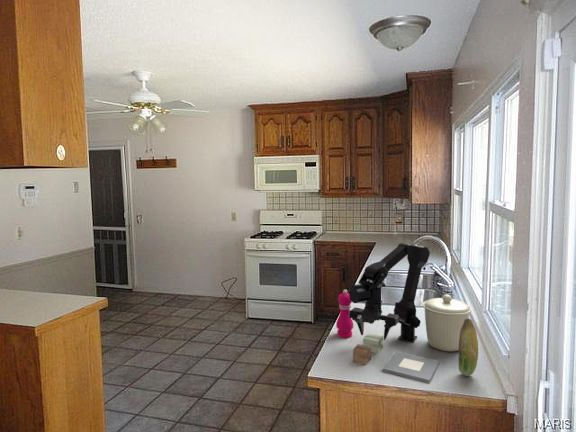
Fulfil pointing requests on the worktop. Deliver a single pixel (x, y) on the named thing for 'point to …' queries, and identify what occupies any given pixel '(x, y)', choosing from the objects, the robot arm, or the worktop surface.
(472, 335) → the vegetable
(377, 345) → the green block
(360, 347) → the walnut block
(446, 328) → the canister
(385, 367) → the build board
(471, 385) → the worktop surface
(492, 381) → the worktop surface
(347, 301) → the pepper mill
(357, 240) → the worktop surface
